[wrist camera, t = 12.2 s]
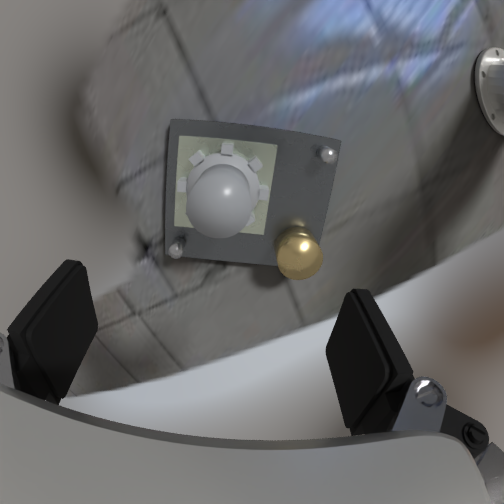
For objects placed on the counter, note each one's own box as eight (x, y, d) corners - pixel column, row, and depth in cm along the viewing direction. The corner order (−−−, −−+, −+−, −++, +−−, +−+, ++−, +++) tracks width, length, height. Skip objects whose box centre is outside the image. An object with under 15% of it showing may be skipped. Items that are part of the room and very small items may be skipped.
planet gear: (273, 148, 25) (283, 159, 20) (260, 230, 29) (266, 262, 23) (183, 139, 25) (166, 148, 19) (178, 222, 28) (163, 252, 23)
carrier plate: (337, 139, 26) (352, 144, 23) (310, 263, 33) (319, 284, 29) (173, 118, 25) (162, 120, 21) (167, 249, 31) (158, 269, 28)
